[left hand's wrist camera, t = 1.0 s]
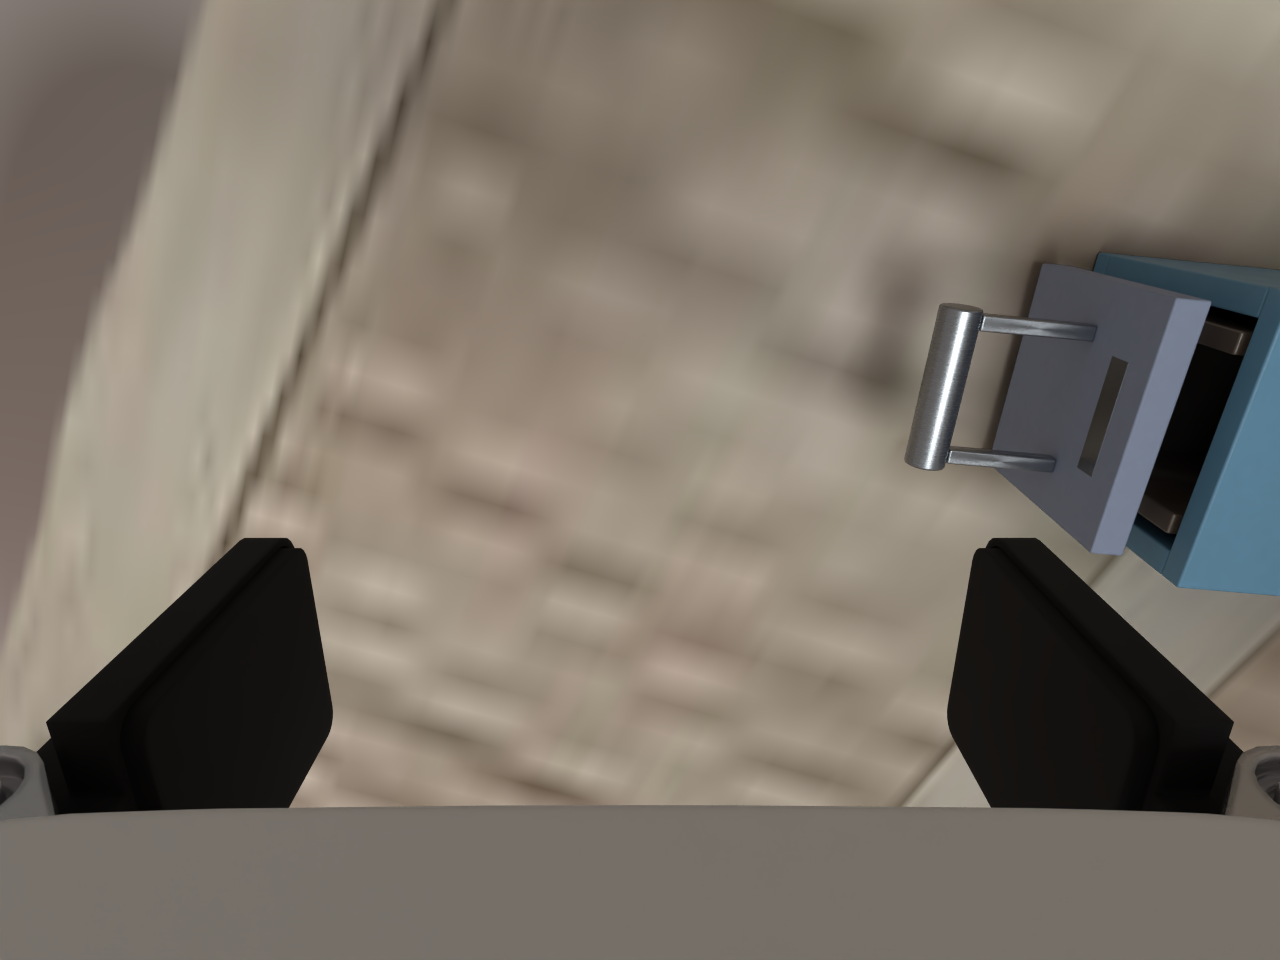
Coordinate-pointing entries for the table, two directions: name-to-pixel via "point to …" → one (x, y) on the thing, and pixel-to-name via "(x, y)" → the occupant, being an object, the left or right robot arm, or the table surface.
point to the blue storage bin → (1224, 441)
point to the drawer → (1091, 399)
